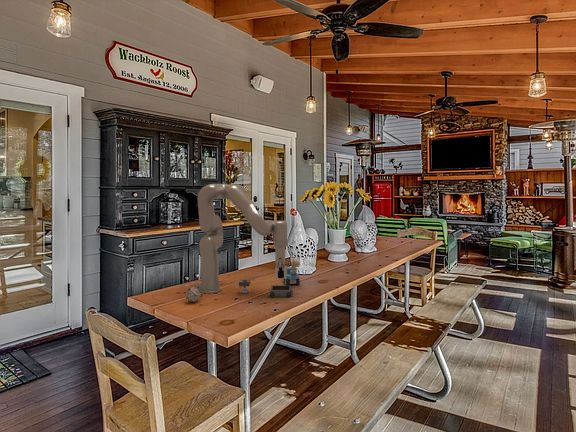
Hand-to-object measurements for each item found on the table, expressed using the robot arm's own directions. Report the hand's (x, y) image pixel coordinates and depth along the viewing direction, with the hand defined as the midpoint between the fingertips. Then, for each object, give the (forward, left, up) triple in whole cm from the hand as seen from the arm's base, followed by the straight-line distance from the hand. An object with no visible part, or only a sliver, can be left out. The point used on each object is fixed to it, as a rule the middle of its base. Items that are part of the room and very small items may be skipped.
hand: (281, 276), depth 204 cm
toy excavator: (+6, +18, -10) cm, 21 cm away
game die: (-44, -14, -10) cm, 48 cm away
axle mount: (-20, +2, -10) cm, 22 cm away
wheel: (-20, +2, -5) cm, 21 cm away
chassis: (0, 0, -10) cm, 10 cm away
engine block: (0, 0, -1) cm, 1 cm away
